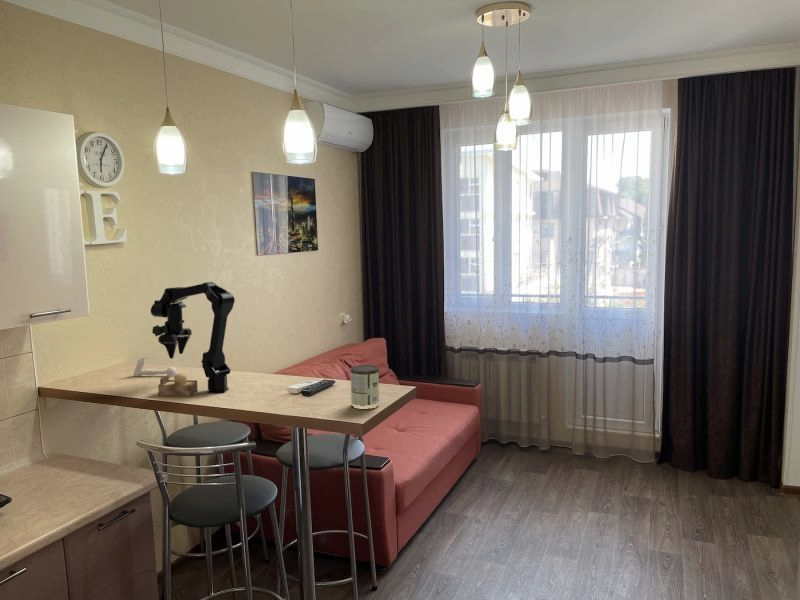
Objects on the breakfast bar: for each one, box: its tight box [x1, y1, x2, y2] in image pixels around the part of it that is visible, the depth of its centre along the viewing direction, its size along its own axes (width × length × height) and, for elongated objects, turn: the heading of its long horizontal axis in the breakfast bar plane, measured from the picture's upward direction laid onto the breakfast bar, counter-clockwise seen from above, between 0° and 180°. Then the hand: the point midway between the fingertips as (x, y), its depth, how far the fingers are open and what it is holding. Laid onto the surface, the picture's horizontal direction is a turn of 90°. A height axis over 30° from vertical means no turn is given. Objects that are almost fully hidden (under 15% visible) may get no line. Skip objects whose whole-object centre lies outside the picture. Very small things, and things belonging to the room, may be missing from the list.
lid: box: [160, 375, 196, 387], centre depth 234 cm, size 12×6×3 cm, turn 87°
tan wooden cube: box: [173, 372, 188, 385], centre depth 234 cm, size 4×4×4 cm
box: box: [157, 379, 198, 398], centre depth 234 cm, size 12×8×4 cm, turn 87°
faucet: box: [133, 356, 177, 378], centre depth 262 cm, size 4×18×10 cm, turn 91°
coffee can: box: [350, 364, 380, 406], centre depth 219 cm, size 10×10×14 cm
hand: (176, 356), depth 246 cm, fingers open, 9 cm apart
